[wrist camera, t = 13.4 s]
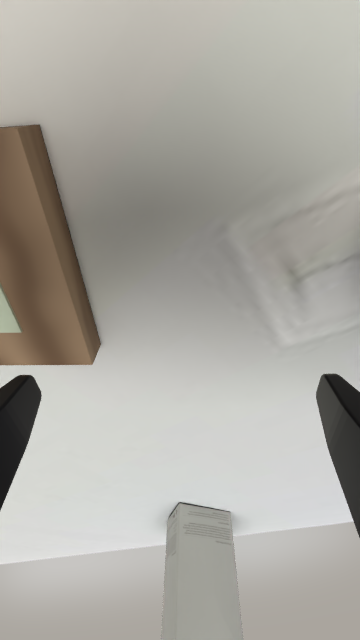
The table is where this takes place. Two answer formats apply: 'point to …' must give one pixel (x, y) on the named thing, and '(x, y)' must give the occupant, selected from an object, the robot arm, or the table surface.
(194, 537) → the skincare box
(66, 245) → the dock
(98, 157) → the table surface
